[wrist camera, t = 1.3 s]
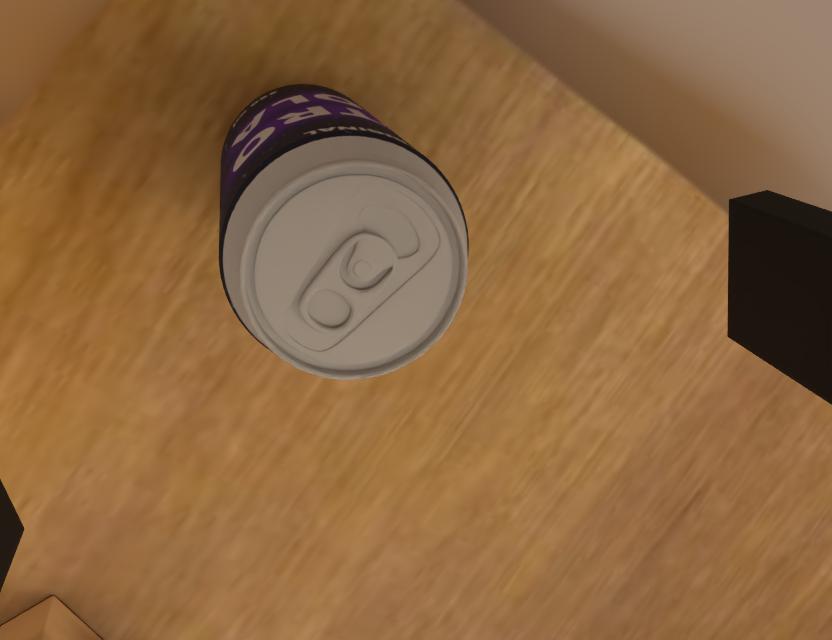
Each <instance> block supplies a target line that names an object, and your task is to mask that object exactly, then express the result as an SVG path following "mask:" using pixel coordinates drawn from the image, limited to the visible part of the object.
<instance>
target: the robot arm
mask: <svg viewBox="0 0 832 640" xmlns="http://www.w3.org/2000/svg"><path fill="white" fill-rule="evenodd" d="M728 337H729V338H730V339H732V340H733V341H735V342H736V343H738V344H740V345H741V346H743V347H744V348H746V349H747V350H749V351H750V352H752V353H753V354H755V355H756V356H758V357H759V358H761V359H763V360H764V361H766V362H767V363H769V364H770V365H772V366H773V367H775V368H776V369H778V370H779V371H781V372H782V373H784V374H786V375H787V376H789V377H790V378H792V379H793V380H795V381H796V382H798V383H799V384H801V385H802V386H804V387H805V388H807V389H809V390H810V391H812V392H813V393H815V394H816V395H818V396H819V397H821V398H822V399H824V400H825V401H827V402H828V403H830V404H832V212H831V211H828V210H825V209H822V208H819V207H816V206H813V205H810V204H807V203H804V202H801V201H798V200H795V199H792V198H789V197H786V196H783V195H780V194H777V193H774V192H771V191H768V190H766V191H762V192H758V193H754V194H750V195H745V196H741V197H738V198H733V199H729V256H728ZM23 531H24V527H23V525H22V523H21V521H20V519H19V517H18V514H17V512H16V510H15V508H14V506H13V504H12V502H11V500H10V498H9V496H8V494H7V492H6V490H5V488H4V486H3V484H2V482H1V480H0V591H1V589H2V586H3V584H4V581H5V578H6V576H7V573H8V571H9V568H10V565H11V563H12V560H13V557H14V555H15V552H16V550H17V547H18V544H19V542H20V539H21V537H22V534H23Z"/></svg>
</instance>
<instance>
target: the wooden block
mask: <svg viewBox="0 0 832 640" xmlns="http://www.w3.org/2000/svg"><path fill="white" fill-rule="evenodd" d="M0 640H102V639H101V638H100V637H99V636H97V635H96V634H95V633H94V632H93V631H92V630H91V629H90V628H89V627H88V626H87V625H85V624H84V623H83V622H82V621H81V620H80V619H79V618H78V617H77V616H76V615H75V614H73V613H72V612H71V611H70V610H69V609H68V608H67V607H66V606H65V605H64V604H63V603H61V602H60V601H59V600H58V599H57V598H56V597H55V596H51V597H49V598H48V599H46V600H44V601H43V602H41V603H39V604H37V605H36V606H34V607H32V608H31V609H29V610H27V611H25V612H24V613H22V614H20V615H19V616H17V617H15V618H13V619H12V620H10V621H8V622H7V623H5V624H3V625H2V626H0Z"/></svg>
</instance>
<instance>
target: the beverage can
mask: <svg viewBox="0 0 832 640" xmlns="http://www.w3.org/2000/svg"><path fill="white" fill-rule="evenodd" d="M468 251H469V242H468V230H467V224H466V220H465V216H464V212H463V209H462V207H461V204H460V202H459V199H458V197H457V195H456V193H455V191H454V189H453V188H452V186H451V185H450V183H449V182H448V180H447V179H446V177H445V176H444V175H443V174H442V172H441V171H440V170H439V169H438V168H437V167H436V166H435V165H434V164H433V163H432V162H431V161H430V160H429V159H427V158H426V157H425V156H424V155H422V154H421V153H420V152H418V151H417V150H416V149H415V148H413V147H412V146H411V145H409V144H408V143H407V142H406V141H404V140H403V139H402V138H400V137H399V136H398V135H397V134H395V133H394V132H393V131H391V130H390V129H389V128H388V127H386V126H385V125H384V124H382V123H381V122H380V121H379V120H377V119H376V118H375V117H373V116H372V115H371V114H370V113H368V112H367V111H366V110H364V109H363V108H362V107H361V106H359V105H358V104H357V103H355V102H354V101H353V100H351V99H350V98H348V97H347V96H345V95H343V94H341V93H339V92H337V91H335V90H332V89H329V88H326V87H322V86H317V85H309V84H299V85H289V86H285V87H280V88H277V89H274V90H272V91H269V92H267V93H265V94H263V95H262V96H260V97H258V98H257V99H255V100H254V101H253V102H251V103H250V104H249V105H248V106H247V107H246V108H245V109H244V110H243V111H242V112H241V113H240V114H239V115H238V117H237V118H236V120H235V121H234V122H233V124H232V126H231V128H230V129H229V132H228V134H227V136H226V139H225V142H224V145H223V150H222V156H221V181H220V230H219V267H220V274H221V279H222V283H223V287H224V290H225V293H226V296H227V299H228V301H229V303H230V305H231V307H232V309H233V311H234V313H235V314H236V316H237V317H238V319H239V321H240V322H241V323H242V325H243V326H244V327H245V328H246V329H247V331H248V332H249V333H250V334H251V335H252V336H253V337H254V338H255V339H256V340H257V341H258V342H260V343H261V344H262V345H263V346H265V347H266V348H267V349H269V350H270V351H272V352H273V353H275V354H276V355H277V356H278V357H280V358H281V359H282V360H284V361H285V362H287V363H289V364H290V365H292V366H294V367H296V368H297V369H299V370H302V371H305V372H307V373H310V374H312V375H315V376H320V377H324V378H329V379H339V380H357V379H367V378H372V377H376V376H381V375H384V374H387V373H390V372H392V371H395V370H398V369H400V368H401V367H403V366H405V365H407V364H409V363H411V362H413V361H414V360H415V359H417V358H418V357H420V356H421V355H422V354H424V353H425V352H426V351H428V350H429V349H430V348H431V347H432V346H433V345H434V344H435V343H436V342H437V341H438V340H439V339H440V337H441V336H442V335H443V334H444V332H445V331H446V330H447V329H448V327H449V326H450V324H451V322H452V321H453V319H454V317H455V315H456V314H457V312H458V309H459V306H460V304H461V301H462V299H463V296H464V291H465V287H466V283H467V274H468Z"/></svg>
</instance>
